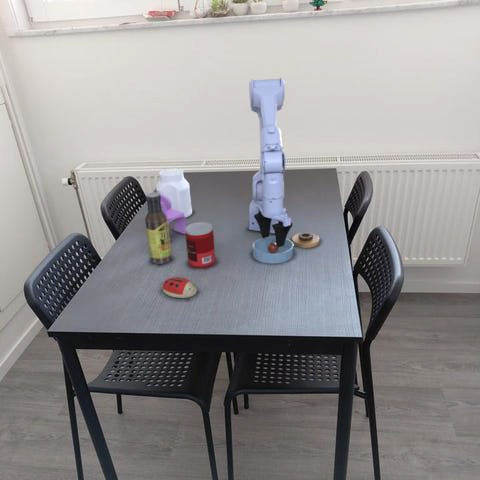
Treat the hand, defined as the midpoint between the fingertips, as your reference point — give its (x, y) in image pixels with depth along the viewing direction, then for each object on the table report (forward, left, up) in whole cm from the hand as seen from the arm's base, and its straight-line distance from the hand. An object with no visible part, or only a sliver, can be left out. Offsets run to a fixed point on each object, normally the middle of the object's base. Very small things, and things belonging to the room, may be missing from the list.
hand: (273, 241), depth 140 cm
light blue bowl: (0, 0, -4) cm, 4 cm away
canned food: (-17, -12, -4) cm, 22 cm away
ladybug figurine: (-14, -29, -4) cm, 33 cm away
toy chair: (-36, +1, -4) cm, 36 cm away
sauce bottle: (-29, -15, -4) cm, 33 cm away
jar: (-45, +18, -4) cm, 48 cm away
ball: (0, 0, -2) cm, 2 cm away
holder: (+6, +12, -4) cm, 14 cm away
